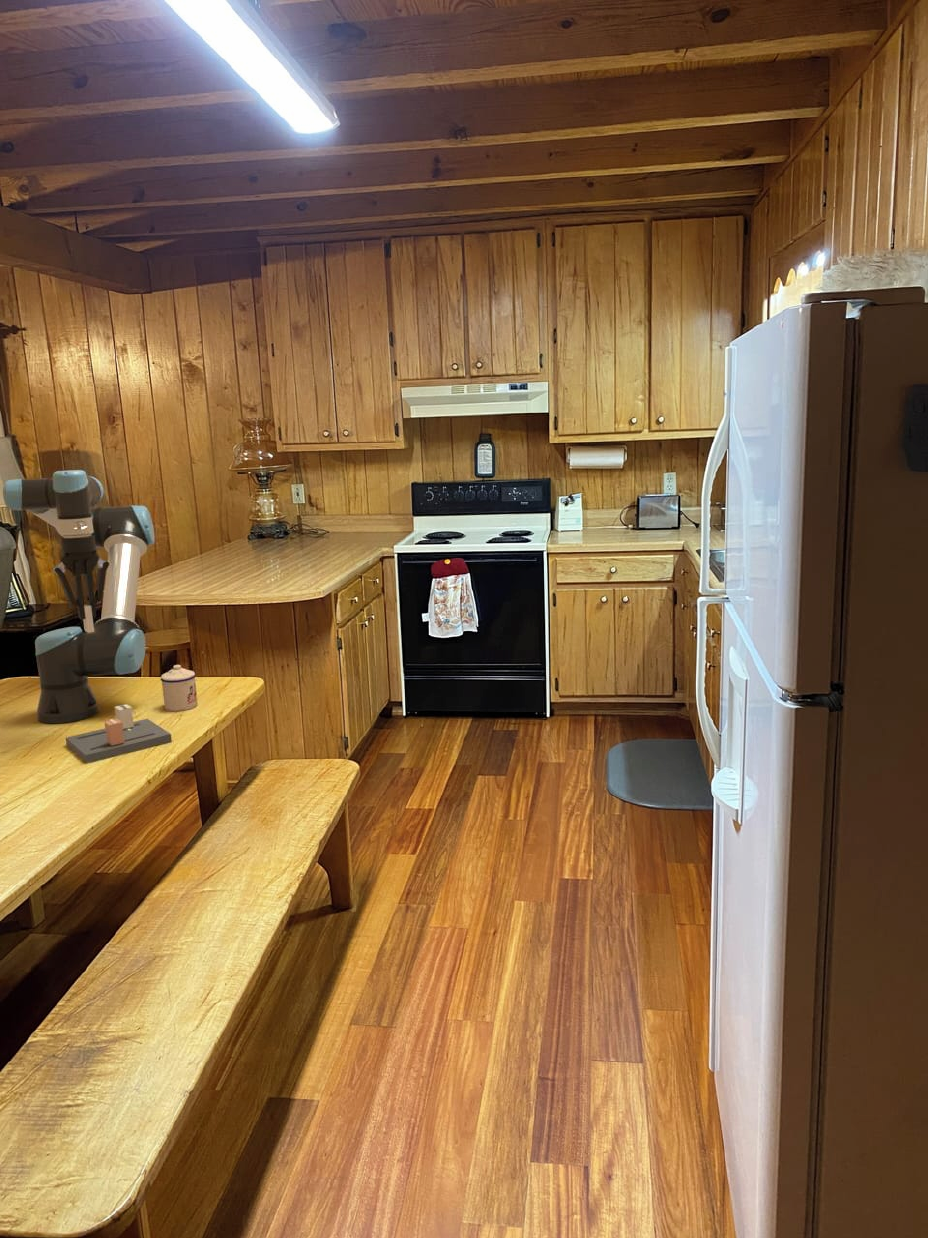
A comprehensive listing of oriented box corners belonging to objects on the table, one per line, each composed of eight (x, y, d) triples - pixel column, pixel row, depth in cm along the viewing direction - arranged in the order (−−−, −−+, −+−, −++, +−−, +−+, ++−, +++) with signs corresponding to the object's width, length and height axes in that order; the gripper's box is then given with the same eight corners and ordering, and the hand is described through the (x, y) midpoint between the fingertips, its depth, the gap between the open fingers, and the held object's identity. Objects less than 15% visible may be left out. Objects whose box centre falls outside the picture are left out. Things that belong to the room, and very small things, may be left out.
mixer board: (66, 745, 218) (65, 737, 218) (148, 726, 230) (147, 718, 230) (86, 763, 206) (85, 754, 205) (171, 741, 218) (170, 733, 218)
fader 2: (116, 726, 224) (114, 706, 223) (129, 723, 226) (126, 703, 225) (121, 729, 221) (119, 709, 220) (134, 726, 223) (131, 706, 222)
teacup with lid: (195, 710, 241) (191, 669, 239) (160, 713, 240) (156, 671, 238) (202, 697, 253) (198, 657, 251) (169, 699, 252) (165, 659, 250)
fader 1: (106, 741, 213) (104, 720, 212) (119, 738, 215) (117, 718, 213) (111, 745, 210) (109, 724, 209) (124, 742, 212) (122, 721, 211)
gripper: (52, 539, 208) (66, 638, 214) (109, 533, 216) (121, 629, 221) (44, 537, 214) (57, 633, 219) (100, 531, 222) (111, 624, 227)
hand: (89, 631), depth 220 cm, fingers closed
